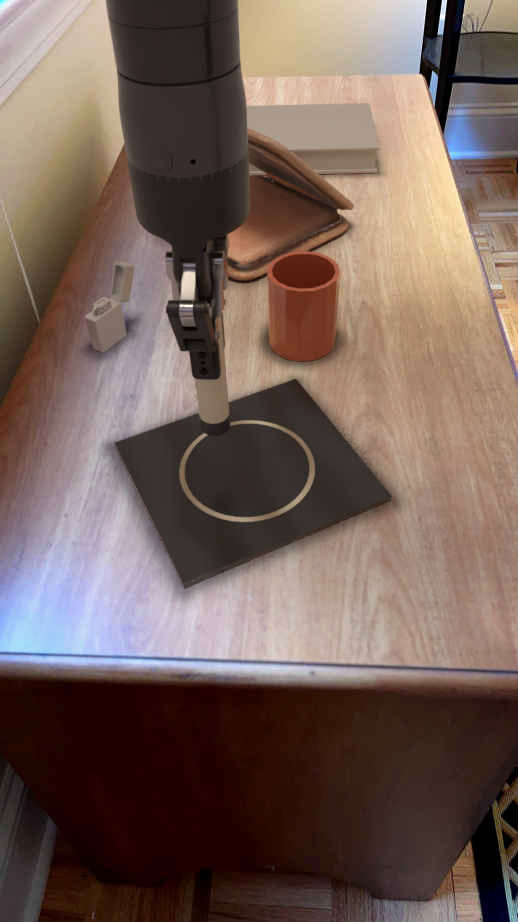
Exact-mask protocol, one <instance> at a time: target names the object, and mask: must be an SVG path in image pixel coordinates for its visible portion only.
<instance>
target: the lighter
mask: <svg viewBox="0 0 518 922" xmlns="http://www.w3.org/2000/svg"><path fill="white" fill-rule="evenodd" d="M134 272H135V265H134V264H132V263H129V262H127V261H124V260H122V261H119V260H117V261H115V262H114V263H113V270H112V276H111V277H112V279H111V285H110V293H109V298H108V297H106V296H102V297H101V298H99V299H98V300H96V301H95V302H93V303H92V310H91V311H90V312H88V313H87V314H86V315H84V319H85V323H86V327H87V331H88V335H89V338H90V343H91V346H92V349H93V350H95V351H97V352H99V353H101V354H104V353H106V352H107V351H108V350H110V349H111V348H112V347H114V346H115V345H116V344H118V343H119V342H120V341H121V340H123V339H124V338H125V337H126V336H127V335H128V332H127V328H126V324H125V318H124V313H123V309H122V304H121V303H127V302H131V301H130V300H131V294H132V293H131V292H132V287H133V279H134Z"/></svg>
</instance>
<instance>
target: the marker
mask: <svg viewBox="0 0 518 922" xmlns="http://www.w3.org/2000/svg"><path fill="white" fill-rule="evenodd" d="M218 327H219V332H220V339H219V351H220V362H221V374H220V378H219V379H216V380H203V379H195V378H194V377H193V379H194V386H195V395H196V402H197V409H198V413H199V418H200V426H201V430H202V431H203V432H204V433H205V434H207V435H209V436H220V435H223V434H225V433H226V432H227V431H228V430H229V428H230V414H229V402H230V401H229V391H228V390H229V389H228V380H227V379H228V377H227V368H226V356H225V348H224V342H223V329H222V317H221V316H220V317H218Z"/></svg>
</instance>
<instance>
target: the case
mask: <svg viewBox="0 0 518 922" xmlns="http://www.w3.org/2000/svg"><path fill="white" fill-rule="evenodd" d="M248 153H249V163H250V164H251V165H253V166H254V167H256V168H258V169H260V170H261V171H263V172H265V173H266V174H267V175H266V176H264V175H249V179H250V213H249V215H248V217H247V219H246V221H245V222H244V223H243V224H242V225H241V226H240V227H239V228H237V229H236V230H235V231H233V232H231V233H229V234H228V237H229V249H228V257H227V264H228V278H231V279H233V280H237V281H251V280H255V279H257V278H260V277H262V276H264V275H266V274H267V269H268V267H269V265H270V264H271V262H272V261H273V260H275V259H276V258H278V257H279V256H281V255H284V254H288V253H291V252H300V251H310V250H313V249H314V248H316V247H319V246H320V245H322V244H324V243H326V242H328V241H331V240H332V239H334V238H335V237H338V236H339V235H342V234H343V233H344V232H345V231H346V230H347V229H348V228H349V221H348V220H347V218H346V217H345V216H344V215H342V214H340V213H339V212H338V210H340V211H346V210H348V211H353V210H354V208H355V205H354V202H352V201H351V200H350V199H349V198H348V197H346V196H345V195H344V194H343V193H342V192H341V191H339V189H337V188H336V187H334V185H332V184H331V183H330V182H329V181H327V180H326V179H325V178H324V177H322V175H321V174H318V173H316V172H315V171H314V170H313V169H311V168H310V167H309V166H308V165H307V164H305V163H304V162H303V161H302V160H301V159H299V158H298V157H297V156H296V155H295V154H294V153H292V152H291V151H290V150H289V149H287V148H286V147H285V146H283V145H282V144H280V143H279V142H277V141H275V140H274V139H272V138H270V137H268V136H265V135H263V134H261V133H259V132H256V131H254V130H252V129H250V128H248Z"/></svg>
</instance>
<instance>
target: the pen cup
mask: <svg viewBox="0 0 518 922" xmlns="http://www.w3.org/2000/svg"><path fill="white" fill-rule="evenodd" d="M266 275H267V313H268V316H267V317H268V318H267V319H268V341H269V346H270V348H271V349H272V351H273V352H274V353H275V354H276V355H278V356H279V357H281V358H283V359H286V360H288V361H292V362H293V361H294V362H311V361H316V360H319V359H322V358H323V357H325V356H327V355H328V354H329V353H331V351H332V350H333V349H334V347H335V345H336V339H337V329H338V328H337V326H338V314H339V313H338V312H339V311H338V310H339V297H340V280H341V270H340V266H339V263H337V262H336V261H335V260H334V259H333V258H332V257H330V256H328V255H326V254H323V253H322V252H314V251H310V250H308V251H300V252H291V253H288V254H284V255H281V256H279V257H278V258H276V259H275V260H273V261H272V262H271V264H270V265H269V267H268V269H267V273H266Z"/></svg>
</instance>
